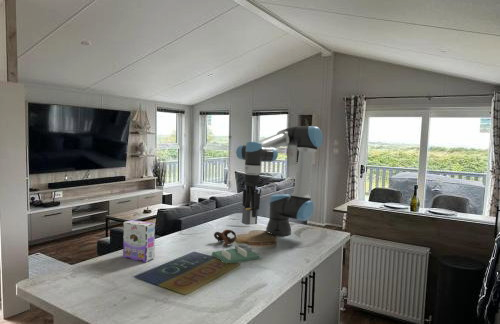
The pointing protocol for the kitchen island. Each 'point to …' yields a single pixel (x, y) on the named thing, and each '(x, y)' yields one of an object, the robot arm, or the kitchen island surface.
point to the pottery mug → (225, 237)
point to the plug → (247, 216)
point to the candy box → (138, 240)
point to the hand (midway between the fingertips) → (249, 222)
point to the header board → (236, 254)
